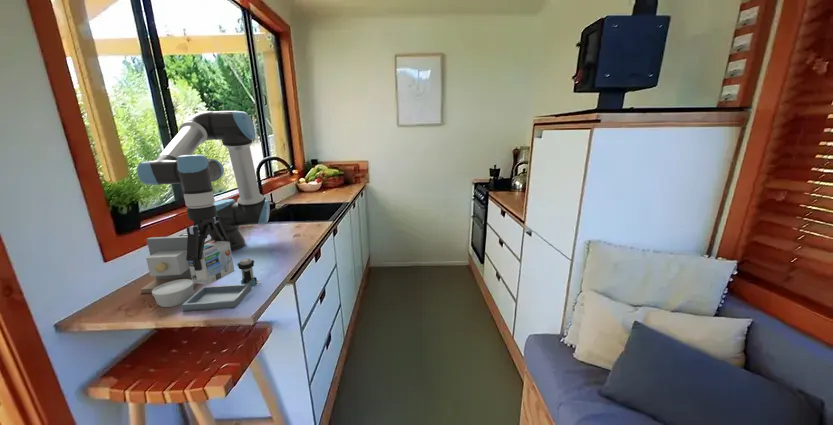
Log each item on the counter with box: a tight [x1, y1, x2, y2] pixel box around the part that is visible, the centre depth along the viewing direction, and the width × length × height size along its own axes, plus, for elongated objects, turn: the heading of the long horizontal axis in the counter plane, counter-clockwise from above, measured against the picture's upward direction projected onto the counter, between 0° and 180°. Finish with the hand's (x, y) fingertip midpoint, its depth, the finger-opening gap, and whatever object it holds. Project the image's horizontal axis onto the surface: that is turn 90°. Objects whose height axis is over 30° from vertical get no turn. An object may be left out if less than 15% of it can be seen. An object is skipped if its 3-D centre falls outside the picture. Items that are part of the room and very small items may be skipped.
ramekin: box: [151, 279, 194, 308], centre depth 104 cm, size 11×11×5 cm
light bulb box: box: [186, 240, 235, 286], centre depth 100 cm, size 11×7×11 cm, turn 169°
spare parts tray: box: [181, 284, 252, 313], centre depth 104 cm, size 12×16×2 cm
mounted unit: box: [140, 235, 198, 294], centre depth 113 cm, size 10×16×18 cm, turn 95°
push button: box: [236, 257, 262, 288], centre depth 112 cm, size 7×5×10 cm
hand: (213, 270), depth 101 cm, fingers closed on light bulb box, 12 cm apart
